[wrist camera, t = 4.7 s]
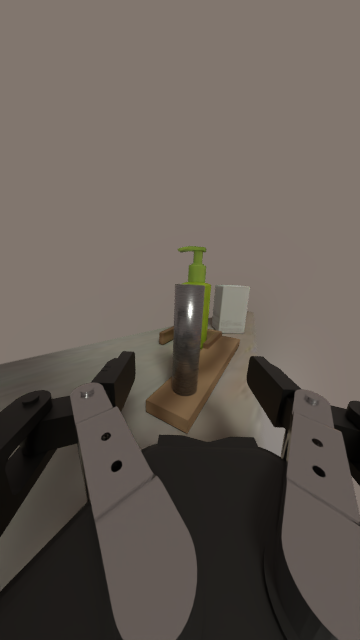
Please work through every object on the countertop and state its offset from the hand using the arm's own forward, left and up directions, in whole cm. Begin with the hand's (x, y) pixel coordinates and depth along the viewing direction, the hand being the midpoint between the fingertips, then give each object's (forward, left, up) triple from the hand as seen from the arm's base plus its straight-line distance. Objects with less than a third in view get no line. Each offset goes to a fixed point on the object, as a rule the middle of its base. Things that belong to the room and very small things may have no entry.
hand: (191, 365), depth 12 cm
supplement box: (-6, +38, -9) cm, 39 cm away
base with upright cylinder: (-8, +14, -8) cm, 19 cm away
